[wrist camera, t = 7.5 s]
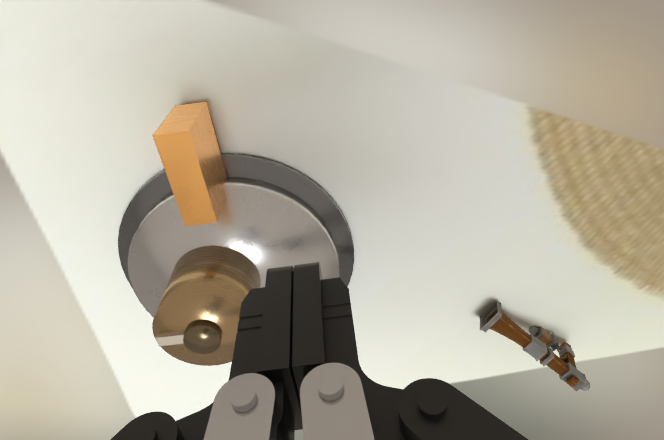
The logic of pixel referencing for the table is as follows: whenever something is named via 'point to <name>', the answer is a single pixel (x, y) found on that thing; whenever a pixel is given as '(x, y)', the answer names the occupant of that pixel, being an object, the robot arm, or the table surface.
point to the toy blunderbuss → (537, 346)
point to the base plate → (255, 170)
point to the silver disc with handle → (219, 213)
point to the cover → (204, 305)
